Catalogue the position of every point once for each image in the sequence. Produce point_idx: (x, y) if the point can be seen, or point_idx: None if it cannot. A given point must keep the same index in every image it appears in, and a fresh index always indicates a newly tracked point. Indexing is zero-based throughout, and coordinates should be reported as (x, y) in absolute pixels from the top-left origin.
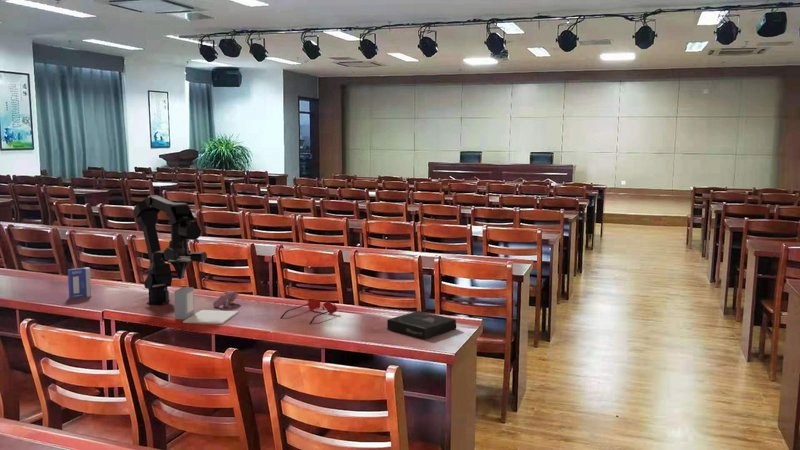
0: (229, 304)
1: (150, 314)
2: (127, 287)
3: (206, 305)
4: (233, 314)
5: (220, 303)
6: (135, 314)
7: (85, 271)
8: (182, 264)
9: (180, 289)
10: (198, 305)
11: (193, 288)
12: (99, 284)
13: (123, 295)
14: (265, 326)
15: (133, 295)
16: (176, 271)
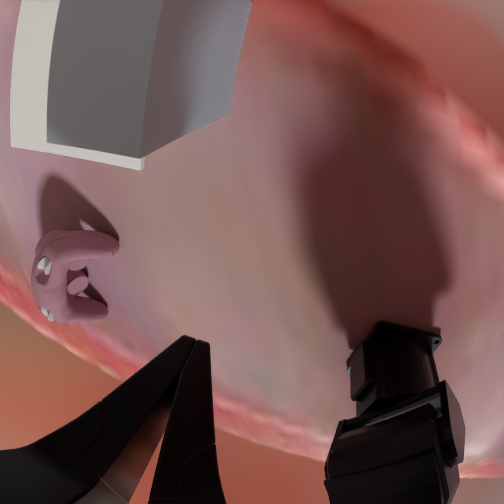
0: (80, 269)
1: (429, 131)
2: None
3: (162, 278)
4: (11, 95)
5: (75, 231)
6: (499, 154)
7: None
8: (11, 465)
9: (131, 27)
10: (199, 284)
11: (53, 138)
12: (483, 464)
13: (476, 418)
14: None
15: None
16: (202, 427)
